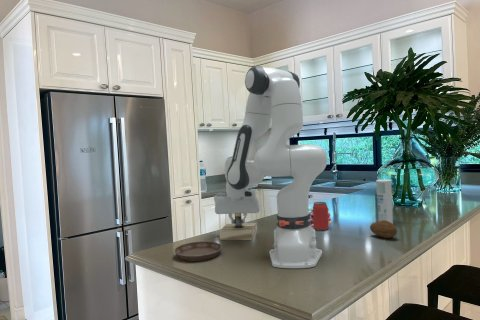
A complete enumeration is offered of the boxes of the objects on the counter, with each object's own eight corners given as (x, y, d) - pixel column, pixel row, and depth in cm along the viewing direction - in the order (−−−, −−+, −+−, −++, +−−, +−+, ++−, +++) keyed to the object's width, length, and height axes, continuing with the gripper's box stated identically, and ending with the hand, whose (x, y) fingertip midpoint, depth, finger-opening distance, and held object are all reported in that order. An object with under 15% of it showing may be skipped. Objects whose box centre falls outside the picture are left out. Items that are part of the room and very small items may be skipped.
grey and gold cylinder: (241, 233, 157) (240, 213, 157) (235, 233, 158) (233, 213, 158) (243, 232, 160) (241, 212, 160) (236, 232, 161) (235, 212, 160)
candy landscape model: (292, 231, 163) (291, 211, 162) (271, 221, 185) (270, 204, 185) (339, 223, 171) (338, 204, 170) (314, 215, 193) (313, 198, 193)
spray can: (396, 224, 161) (394, 180, 161) (384, 225, 160) (382, 181, 159) (386, 221, 168) (384, 179, 167) (375, 223, 166) (372, 180, 165)
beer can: (329, 230, 158) (327, 203, 157) (313, 230, 159) (312, 204, 159) (328, 227, 164) (327, 201, 164) (313, 227, 166) (312, 201, 165)
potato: (376, 233, 148) (375, 216, 148) (403, 238, 139) (402, 220, 139) (366, 236, 144) (365, 219, 144) (393, 242, 135) (392, 223, 135)
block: (252, 239, 151) (251, 230, 151) (219, 240, 154) (219, 231, 153) (257, 231, 164) (256, 223, 164) (227, 232, 167) (226, 223, 167)
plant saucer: (232, 253, 134) (231, 245, 134) (193, 267, 122) (193, 258, 122) (203, 246, 147) (202, 238, 147) (166, 257, 135) (165, 249, 135)
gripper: (211, 194, 157) (213, 225, 158) (257, 192, 153) (259, 224, 154) (215, 192, 163) (217, 222, 164) (259, 190, 159) (261, 221, 160)
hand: (238, 223), depth 159 cm, fingers open, 3 cm apart
